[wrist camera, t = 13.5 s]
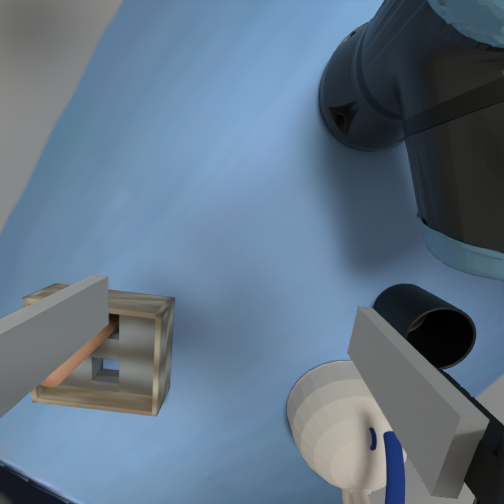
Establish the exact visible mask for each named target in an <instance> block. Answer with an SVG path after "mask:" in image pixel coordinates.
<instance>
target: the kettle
mask: <svg viewBox="0 0 504 504" xmlns="http://www.w3.org/2000/svg"><path fill="white" fill-rule="evenodd" d="M287 417H288V420H289V423H290V427H291V430H292V434H293V438H294V441H295V444H296V447H297V448H298V450H299V451H300V453H301V454H302V456H303V458H304V459H305V461H306V462H307V463H308V465H309V466H310V468H311V469H313V470H314V471H315V472H316V473H318V474H319V475H320V476H321V477H323V478H324V479H325V480H326V481H328V482H329V483H330V484H332V485H334V486H337V487H339V488H341V489H342V498H343V504H370V501H369V497H368V495H369V494H371V492H372V491H376V490H378V489H381V488H383V487H385V486H386V497H385V504H404V503H405V471H404V463H405V461H406V458H407V454H406V452H405V450H404V449H403V447H402V445H401V443H400V442H399V440H398V438H397V437H396V435H395V433H394V431H393V430H392V428H391V426H390V425H389V423H388V421H387V419H386V418H385V416H384V414H383V413H382V411H381V409H380V407H379V406H378V404H377V402H376V401H375V399H374V397H373V396H372V394H371V392H370V390H369V389H368V387H367V385H366V384H365V382H364V380H363V378H362V377H361V375H360V373H359V372H358V370H357V368H356V366H355V365H354V363H353V361H335V362H331V363H326V364H322V365H320V366H318V367H316V368H314V369H312V370H310V371H309V372H307V373H306V374H305V375H304V376H303V377H302V378H300V379H299V380H298V382H297V383H296V384H295V386H294V387H293V389H292V390H291V392H290V396H289V399H288V402H287Z"/></svg>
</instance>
